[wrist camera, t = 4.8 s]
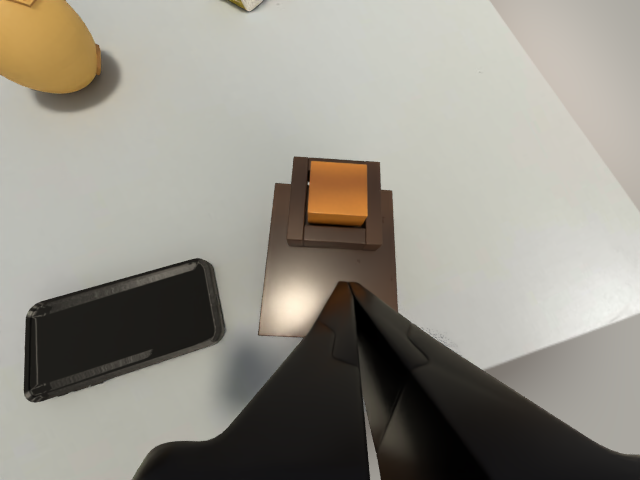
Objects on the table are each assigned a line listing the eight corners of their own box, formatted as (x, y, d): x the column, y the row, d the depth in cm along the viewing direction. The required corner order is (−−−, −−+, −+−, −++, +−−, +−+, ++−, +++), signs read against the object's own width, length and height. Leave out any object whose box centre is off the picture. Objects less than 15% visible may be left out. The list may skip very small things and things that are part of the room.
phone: (26, 305, 20) (206, 255, 22) (40, 305, 21) (211, 257, 23) (23, 408, 18) (222, 342, 20) (39, 403, 19) (227, 341, 21)
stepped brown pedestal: (378, 334, 22) (410, 345, 15) (269, 329, 21) (251, 338, 15) (375, 201, 26) (399, 163, 19) (283, 196, 25) (273, 154, 18)
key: (361, 226, 18) (367, 216, 16) (307, 223, 17) (307, 212, 15) (360, 179, 19) (367, 164, 17) (310, 176, 19) (311, 160, 17)
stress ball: (115, 111, 27) (11, 4, 18) (23, 116, 27) (-138, 8, 17) (125, 49, 30) (39, -72, 21) (41, 52, 29) (-88, -73, 20)
